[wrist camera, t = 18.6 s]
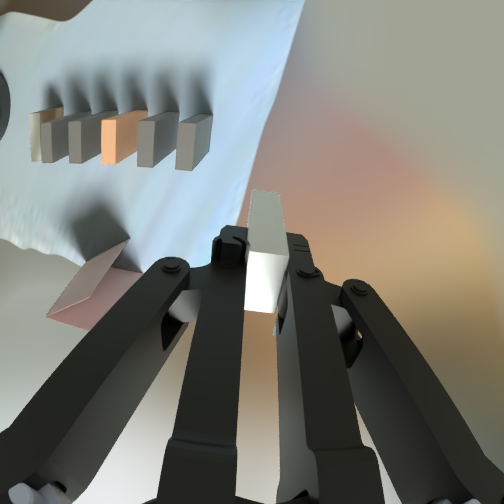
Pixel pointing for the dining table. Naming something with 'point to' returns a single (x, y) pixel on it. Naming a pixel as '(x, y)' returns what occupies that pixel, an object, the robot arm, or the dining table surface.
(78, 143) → the domino
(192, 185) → the dining table surface
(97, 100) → the dining table surface
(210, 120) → the domino
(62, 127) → the domino
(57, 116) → the block
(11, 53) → the dining table surface
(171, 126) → the domino
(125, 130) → the orange rectangular block
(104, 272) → the greeting card
